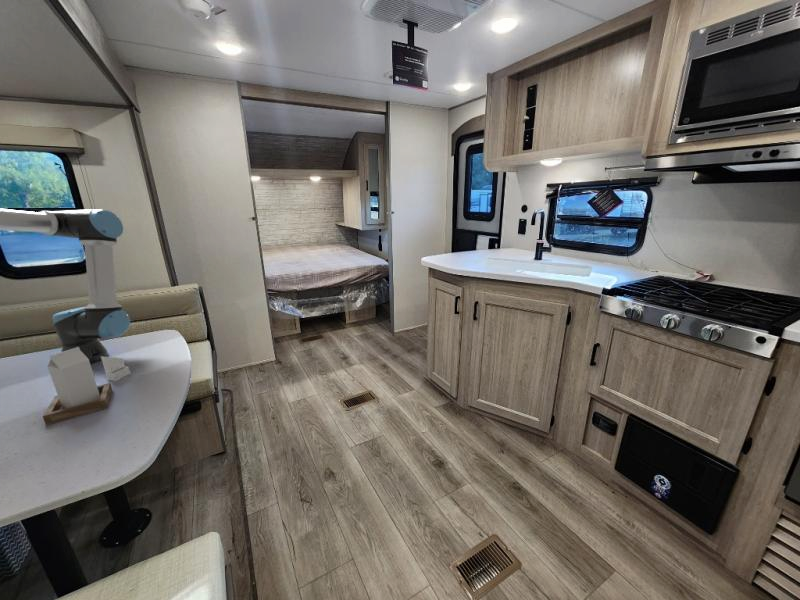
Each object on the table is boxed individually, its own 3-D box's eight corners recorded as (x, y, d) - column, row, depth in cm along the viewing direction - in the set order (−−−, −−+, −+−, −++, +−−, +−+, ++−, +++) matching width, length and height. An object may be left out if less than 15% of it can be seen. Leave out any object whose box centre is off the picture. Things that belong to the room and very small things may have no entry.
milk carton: (101, 400, 108) (85, 348, 103) (75, 412, 102) (56, 357, 97) (88, 396, 110) (72, 345, 105) (61, 408, 104) (43, 354, 99)
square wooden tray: (57, 404, 107) (54, 396, 107) (112, 390, 115) (110, 382, 114) (45, 425, 96) (42, 416, 96) (107, 408, 104) (104, 400, 103)
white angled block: (93, 380, 118) (100, 356, 120) (121, 380, 128) (127, 358, 130) (101, 380, 117) (108, 356, 119) (128, 381, 127) (134, 359, 129)
